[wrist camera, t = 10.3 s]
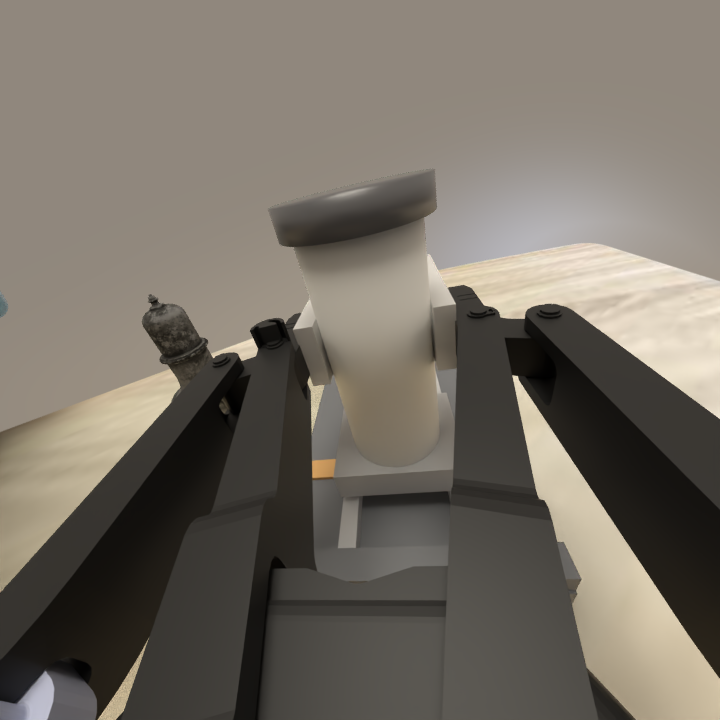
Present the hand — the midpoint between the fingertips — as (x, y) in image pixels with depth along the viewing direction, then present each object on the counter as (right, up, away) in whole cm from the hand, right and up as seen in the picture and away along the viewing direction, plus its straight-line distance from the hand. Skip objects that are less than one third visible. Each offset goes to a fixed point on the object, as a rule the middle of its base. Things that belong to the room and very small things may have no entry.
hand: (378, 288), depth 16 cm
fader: (+1, -9, 0) cm, 9 cm away
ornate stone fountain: (-13, -9, +11) cm, 19 cm away
